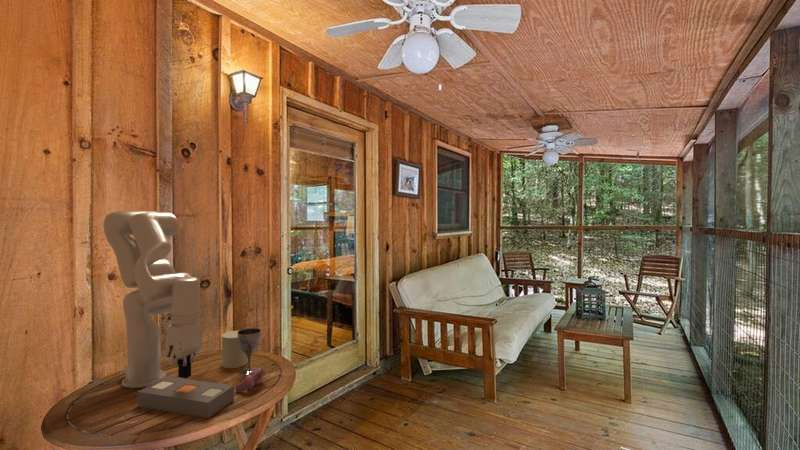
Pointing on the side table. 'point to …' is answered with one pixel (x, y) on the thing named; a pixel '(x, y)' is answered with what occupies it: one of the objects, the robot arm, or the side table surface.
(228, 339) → the can
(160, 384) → the button cream
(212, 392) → the button sage
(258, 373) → the video game controller
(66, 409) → the side table surface
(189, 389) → the button orange
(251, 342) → the wine glass
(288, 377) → the side table surface
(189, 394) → the button panel
